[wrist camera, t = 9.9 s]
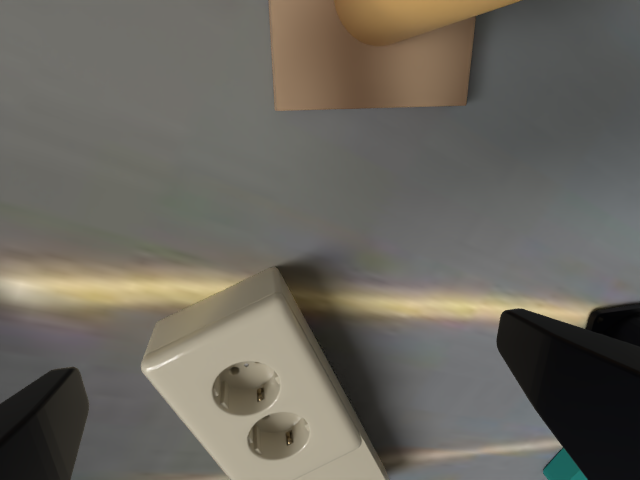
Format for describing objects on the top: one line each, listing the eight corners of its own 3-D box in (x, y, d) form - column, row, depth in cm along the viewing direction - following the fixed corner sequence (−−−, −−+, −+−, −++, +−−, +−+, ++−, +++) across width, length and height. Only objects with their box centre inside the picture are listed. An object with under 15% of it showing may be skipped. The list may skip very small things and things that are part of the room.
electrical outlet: (302, 572, 24) (134, 370, 17) (293, 507, 28) (154, 320, 21) (405, 520, 24) (282, 299, 17) (383, 463, 28) (275, 262, 21)
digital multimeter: (621, 515, 37) (652, 549, 34) (534, 465, 31) (562, 500, 29) (679, 463, 36) (716, 493, 33) (599, 402, 30) (634, 432, 28)
